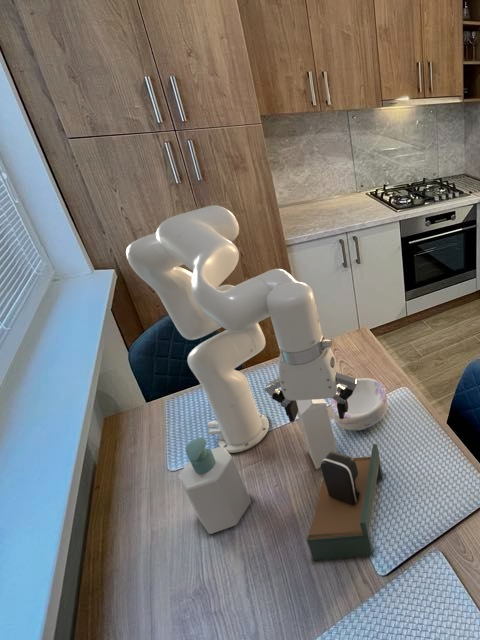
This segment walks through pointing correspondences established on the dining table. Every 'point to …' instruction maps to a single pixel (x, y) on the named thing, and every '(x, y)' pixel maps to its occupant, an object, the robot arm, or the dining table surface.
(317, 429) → the milk
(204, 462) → the soap bottle
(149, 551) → the dining table surface
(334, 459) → the battery charger
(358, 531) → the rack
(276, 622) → the dining table surface
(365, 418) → the paper bowls
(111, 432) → the dining table surface
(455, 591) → the dining table surface
